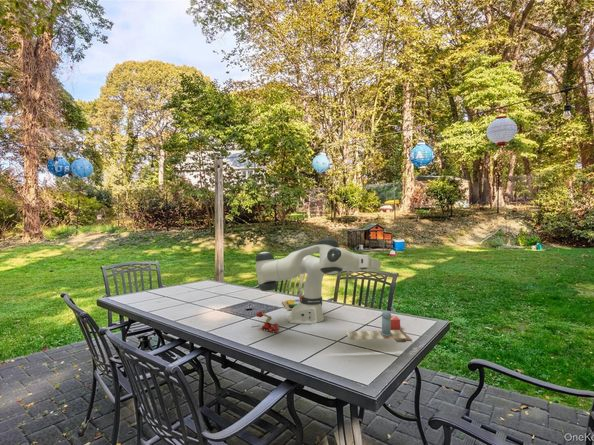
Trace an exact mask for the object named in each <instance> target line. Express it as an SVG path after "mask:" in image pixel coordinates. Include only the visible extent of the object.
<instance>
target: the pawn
mask: <svg viewBox="0 0 594 445" xmlns="http://www.w3.org/2000/svg"><path fill="white" fill-rule="evenodd" d="M391 316H392V313H391V312H390V311H388V310H383V312H382V313H381V331H382V332H381V334H380V335H381V336H386V337H389V336H391V335H392V333H391Z"/></svg>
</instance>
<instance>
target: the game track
mask: <svg viewBox="0 0 594 445" xmlns="http://www.w3.org/2000/svg"><path fill="white" fill-rule="evenodd" d="M381 332H382V330H367V331H366V330H361V331H359V330H357V331H354V330H353V331H345V333H346V335H347V338H348V339H349V341H352V340H356V341H357V340H386V339H387V340H388V339H390V340H391V339H392V340H394V341H395V342H396V343H407V342H406V341H413V340H412V338H411V337H410V336H409V335H408V334H407V333H406V332H405V331H404V330H403V329H401V328H400V330H391V333H392V335H391V336H389V337H386V336H382V335H381Z"/></svg>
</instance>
